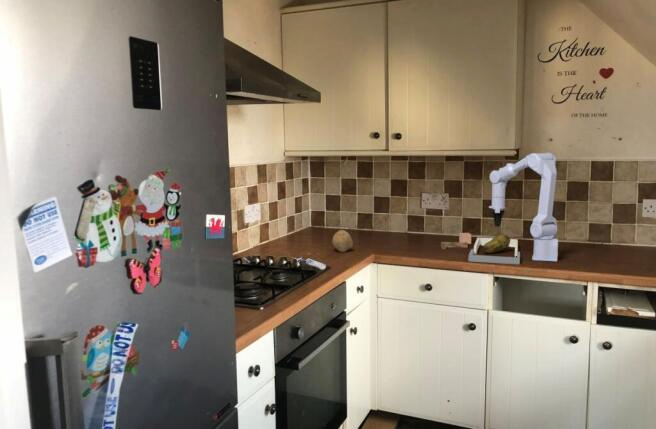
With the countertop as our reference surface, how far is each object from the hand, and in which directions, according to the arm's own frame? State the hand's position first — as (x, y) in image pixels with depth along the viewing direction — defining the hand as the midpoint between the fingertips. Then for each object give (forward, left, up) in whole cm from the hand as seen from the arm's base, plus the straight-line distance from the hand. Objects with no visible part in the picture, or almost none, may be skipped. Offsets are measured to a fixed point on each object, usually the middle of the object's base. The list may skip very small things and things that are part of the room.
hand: (497, 226), depth 253 cm
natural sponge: (+66, +28, -10) cm, 72 cm away
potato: (0, +11, -10) cm, 15 cm away
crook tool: (+18, +5, -10) cm, 22 cm away
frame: (0, +25, -10) cm, 27 cm away
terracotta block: (+15, -8, -10) cm, 20 cm away
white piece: (0, +6, -10) cm, 12 cm away
